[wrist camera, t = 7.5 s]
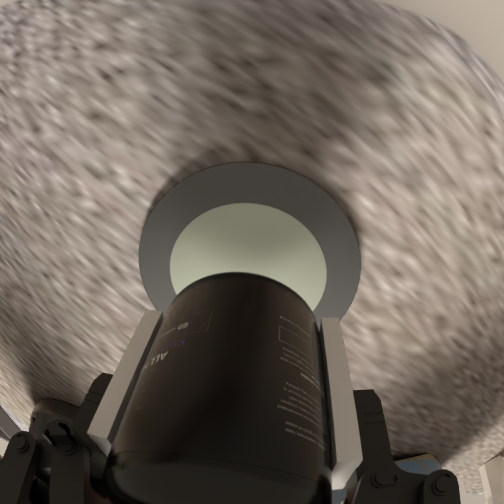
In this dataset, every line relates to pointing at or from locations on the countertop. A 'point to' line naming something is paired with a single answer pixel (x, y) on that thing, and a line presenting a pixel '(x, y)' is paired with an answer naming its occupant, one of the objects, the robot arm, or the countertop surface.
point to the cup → (493, 480)
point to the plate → (251, 236)
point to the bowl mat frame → (7, 426)
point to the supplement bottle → (227, 402)
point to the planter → (412, 465)
